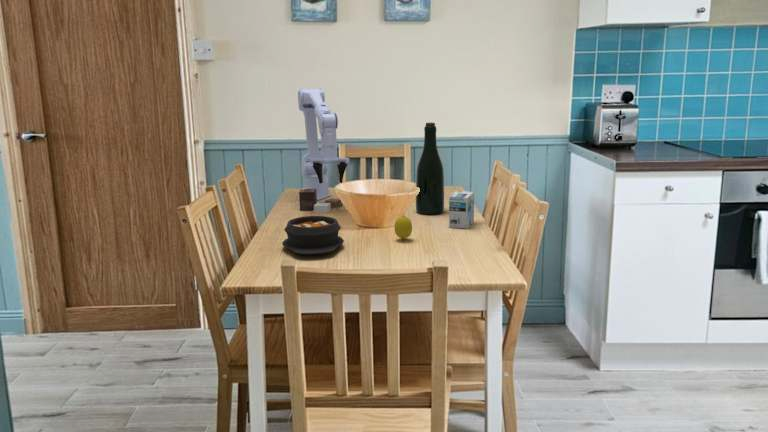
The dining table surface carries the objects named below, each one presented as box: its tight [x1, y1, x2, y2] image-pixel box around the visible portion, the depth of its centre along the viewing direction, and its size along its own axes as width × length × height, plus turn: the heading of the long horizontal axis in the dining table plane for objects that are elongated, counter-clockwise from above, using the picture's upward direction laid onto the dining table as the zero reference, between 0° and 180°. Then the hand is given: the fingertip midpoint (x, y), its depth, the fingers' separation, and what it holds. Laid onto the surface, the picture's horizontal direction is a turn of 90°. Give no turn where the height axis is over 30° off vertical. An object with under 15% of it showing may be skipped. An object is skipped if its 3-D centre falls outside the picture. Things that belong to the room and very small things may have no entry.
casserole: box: [281, 215, 345, 255], centre depth 198 cm, size 25×19×8 cm
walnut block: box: [324, 197, 344, 210], centre depth 252 cm, size 5×5×3 cm
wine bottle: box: [415, 122, 445, 216], centre depth 238 cm, size 10×10×33 cm
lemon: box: [394, 214, 413, 241], centre depth 205 cm, size 6×6×8 cm
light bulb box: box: [448, 190, 475, 230], centre depth 222 cm, size 11×7×11 cm, turn 161°
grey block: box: [313, 201, 332, 214], centre depth 245 cm, size 5×5×3 cm
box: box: [298, 188, 318, 212], centre depth 249 cm, size 6×6×7 cm
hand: (330, 182), depth 244 cm, fingers open, 7 cm apart
